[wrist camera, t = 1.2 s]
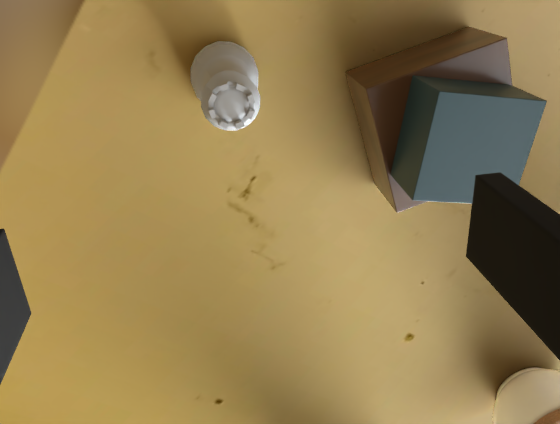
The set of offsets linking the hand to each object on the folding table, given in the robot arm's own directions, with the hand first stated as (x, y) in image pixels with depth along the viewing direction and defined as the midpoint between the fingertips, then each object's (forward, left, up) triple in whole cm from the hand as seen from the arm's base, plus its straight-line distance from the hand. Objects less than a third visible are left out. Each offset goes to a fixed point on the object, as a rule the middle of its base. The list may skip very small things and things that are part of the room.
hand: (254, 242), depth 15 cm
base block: (+4, +14, -23) cm, 27 cm away
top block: (+4, +14, -18) cm, 23 cm away
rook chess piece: (0, 0, -23) cm, 23 cm away
